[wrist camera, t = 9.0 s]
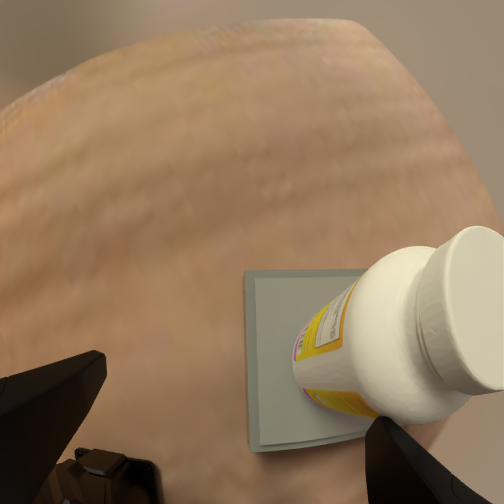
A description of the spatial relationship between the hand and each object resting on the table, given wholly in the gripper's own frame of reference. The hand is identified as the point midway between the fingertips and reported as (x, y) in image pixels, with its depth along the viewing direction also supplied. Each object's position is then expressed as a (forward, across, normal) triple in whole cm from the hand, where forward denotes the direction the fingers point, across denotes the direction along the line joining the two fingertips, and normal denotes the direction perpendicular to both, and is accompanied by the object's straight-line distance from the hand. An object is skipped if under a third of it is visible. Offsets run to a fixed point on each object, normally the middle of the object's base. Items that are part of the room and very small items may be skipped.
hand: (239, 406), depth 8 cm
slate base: (+11, -6, +4) cm, 13 cm away
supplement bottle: (+9, -6, +3) cm, 11 cm away
